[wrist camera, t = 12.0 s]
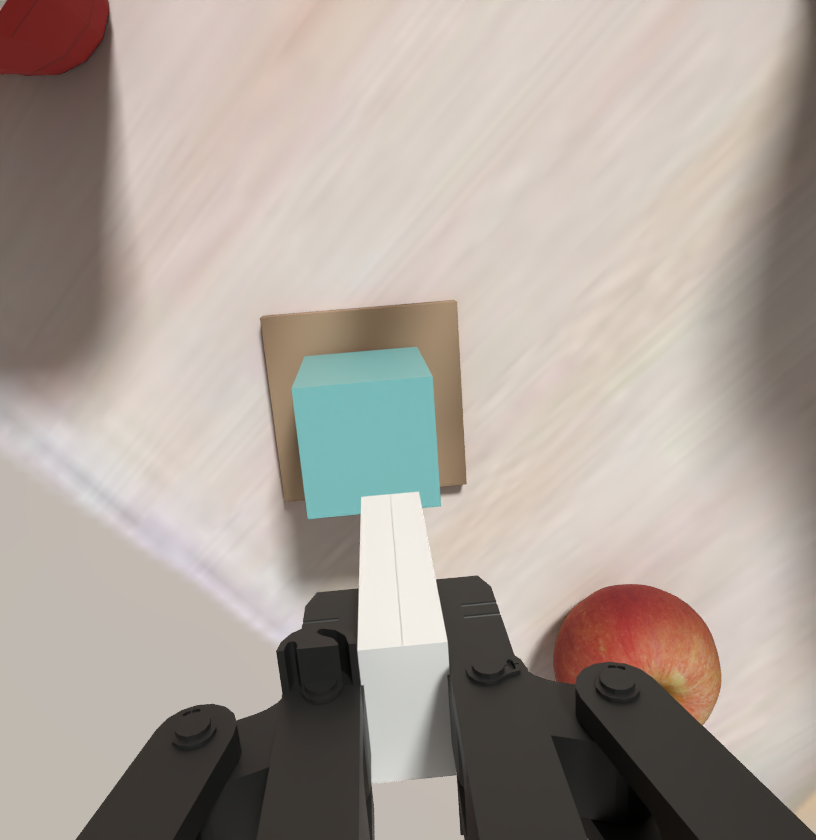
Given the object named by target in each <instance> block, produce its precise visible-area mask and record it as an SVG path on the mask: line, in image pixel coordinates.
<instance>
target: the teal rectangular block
mask: <svg viewBox="0 0 816 840" xmlns="http://www.w3.org/2000/svg"><path fill="white" fill-rule="evenodd" d="M292 397H293V405H294V413H295V421H296V429H297V437H298V445H299V453H300V461H301V469H302V478H303V486H304V494H305V502H306V510H307V518H308V519H315V518H325V517H335V516H346V515H356V514H361V497H365V496H376V495H387V494H398V493H409V492H419V495H420V500H421V505H422V508H427V507H437V506H441V498H440V483H439V467H438V452H437V436H436V421H435V405H434V389H433V376H432V374H431V372H430V370H429V368H428V366H427V365H426V363H425V361H424V359H423V357H422V355H421V353H420V351H419V349H418V348H417V347H406V348H395V349H383V350H371V351H360V352H348V353H336V354H324V355H313V356H304V359H303V361H302V364H301V366H300V369H299V371H298V374H297V376H296V379H295V381H294V384H293V386H292Z"/></svg>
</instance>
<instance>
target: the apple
mask: <svg viewBox="0 0 816 840" xmlns="http://www.w3.org/2000/svg"><path fill="white" fill-rule="evenodd" d="M603 662H617V663H625V664H628V665H631V666H634V667H636V668H639V669H641V670H643V671H644V672H646V673H647V674H648V675H650V676H651V677H653V678H654V679H655V680H656V681H657V682H658V683H659V684H660V685H661V686H662V687H663V688H664V689H665V690H666V691H667V692H668V693H669V694H670V695H671V696H672V697H673V698H674V699H675V700H676V701H677V702H679V703H680V704H681V705H682V706H683V707H684V708H685V709H686V710H687V711H688V712H689V713H690V714H691V715H692V716H693V717H694V718H695V719H696V720H697V721H698V722H699V723H700V724H701V725H703V724H704V723H705V722H706V720H707V719H708V718H709V716H710V714H711V713H712V710H713V708H714V706H715V704H716V701H717V699H718V696H719V693H720V688H721V669H720V662H719V657H718V653H717V649H716V646H715V643H714V640H713V637H712V634H711V633H710V631H709V629H708V627H707V625H706V623H705V622H704V621H703V619H702V618H701V617H700V616H699V615H698V614H697V613H696V612H695V611H694V609H692V608H691V607H690V606H689V605H688V604H687V603H685V602H684V601H682V600H681V599H679V598H678V597H676V596H674V595H672V594H670V593H668V592H665V591H663V590H660V589H657V588H654V587H651V586H646V585H637V584H626V585H615V586H609V587H605V588H603V589H600V590H598V591H596V592H594V593H593V594H591V595H590V596H588V597H587V598H586V599H584V600H583V601H581V602H580V603H579V604H577V605H576V606H575V607H574V608H573V609H572V610H571V611H570V612H569V614H568V615H567V617H566V618H565V620H564V622H563V624H562V626H561V628H560V631H559V633H558V636H557V639H556V643H555V648H554V672H555V677H556V681H557V682H562V683H570V684H576V677H577V676H578V675H579V673H580V672H581V671H582V670H583V669H584V668H586V667H589V666H591V665H593V664H595V663H603Z"/></svg>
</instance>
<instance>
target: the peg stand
mask: <svg viewBox="0 0 816 840" xmlns="http://www.w3.org/2000/svg"><path fill="white" fill-rule="evenodd" d="M260 321H261V329H262V336H263V344H264V351H265V359H266V366H267V374H268V381H269V389H270V396H271V403H272V411H273V418H274V426H275V433H276V441H277V448H278V456H279V463H280V471H281V478H282V486H283V493H284V500H285V502H288V501H298V500H305V494H304V486H303V478H302V469H301V461H300V453H299V445H298V437H297V429H296V421H295V413H294V405H293V397H292V386H293V384H294V381H295V379H296V376H297V374H298V371H299V369H300V366H301V364H302V361H303V359H304V356H313V355H324V354H336V353H348V352H360V351H371V350H383V349H395V348H406V347H417V348H418V349H419V351H420V353H421V355H422V357H423V359H424V361H425V363H426V365H427V366H428V368H429V370H430V372H431V374H432V376H433V389H434V405H435V421H436V436H437V452H438V467H439V483H440V487H442V486H453V485H463V484H466V465H465V446H464V427H463V409H462V390H461V371H460V352H459V334H458V315H457V302H456V301H455V300H449V301H437V302H425V303H413V304H401V305H389V306H377V307H365V308H353V309H341V310H329V311H316V312H304V313H292V314H280V315H268V316H262V317H261V318H260Z"/></svg>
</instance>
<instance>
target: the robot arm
mask: <svg viewBox="0 0 816 840" xmlns="http://www.w3.org/2000/svg"><path fill="white" fill-rule="evenodd" d="M276 653H277V659H278V666H279V673H280V680H281V686H282V693H283V694H282V699H281V700H280V701H279V702H278V703H277V704H275V705H273V706H272V707H270V708H268V709H267V710H264V711H262V712H260V713H257V714H255V715H252V716H249V717H246V718H243V719H240V720H237V721H236V719H235V715H234V713H233V712H231V711H230V710H229V709H228V708H226V707H224V706H220V705H215V704H206V705H197V706H193V707H190V708H187V709H184V710H181V711H180V712H178V713H176V714H175V715H173V716H171V717H169V718H168V719H167V720H166V721H165V722H164V723H163V724H162V725H161V726H160V727H159V728H158V729H157V730H156V731H155V732H154V734H153V735H152V737H151V738H150V739H149V740H148V742H147V743H146V744H145V746H144V747H143V749H142V750H141V751H140V753H139V754H138V755H137V757H136V758H135V759H134V761H133V762H132V764H131V765H130V766H129V768H128V769H127V770H126V772H125V773H124V775H123V776H122V777H121V779H120V780H119V781H118V783H117V784H116V785H115V787H114V788H113V790H112V791H111V792H110V794H109V795H108V796H107V798H106V799H105V801H104V802H103V803H102V805H101V806H100V807H99V809H98V810H97V811H96V813H95V814H94V815H93V817H92V818H91V819H90V821H89V822H88V824H87V825H86V827H85V828H84V829H83V830H82V832H81V833H80V835H79V836H78V837H77V839H76V840H374V804H373V795H372V786H371V779H372V784H376V783H386V782H395V781H404V780H414V779H423V778H433V777H443V776H452V775H456V773H457V784H458V801H459V816H460V831H461V835H464V839H465V840H816V835H815V834H814V833H813V832H812V831H811V830H810V829H809V828H808V827H807V826H806V825H805V824H804V823H803V822H802V821H801V820H800V819H799V818H798V817H797V816H796V815H795V814H794V813H793V812H792V811H791V810H789V809H788V808H787V807H786V806H785V805H784V804H783V803H782V802H781V801H780V800H779V799H778V798H777V797H776V796H775V795H774V794H773V793H772V792H771V791H770V790H769V789H768V788H767V787H766V786H765V785H764V784H763V783H761V782H760V781H759V780H758V779H757V778H756V777H755V776H754V775H753V774H752V773H751V772H750V771H749V770H748V769H747V768H746V767H745V766H744V765H743V764H742V763H741V762H740V761H739V760H738V759H737V758H736V757H735V756H733V755H732V754H731V753H730V752H729V751H728V750H727V749H726V748H725V747H724V746H723V745H722V744H721V743H720V742H719V741H718V740H717V739H716V738H715V737H714V736H713V735H712V734H711V733H710V732H709V731H708V730H707V729H705V728H704V727H703V726H702V725H701V724H700V723H699V722H698V721H697V720H696V719H695V718H694V717H693V716H692V715H691V714H690V713H689V712H688V711H687V710H686V709H685V708H684V707H683V706H682V705H681V704H680V703H679V702H677V701H676V700H675V699H674V698H673V697H672V696H671V695H670V694H669V693H668V692H667V691H666V690H665V689H664V688H663V687H662V686H661V685H660V684H659V683H658V682H657V681H656V680H655V679H654V678H653V677H651V676H650V675H648V674H647V673H646V672H644V671H643V670H641V669H639V668H636V667H634V666H631V665H628V664H625V663H617V662H603V663H595V664H593V665H591V666H589V667H586V668H584V669H583V670H582V671H581V672H580V673H579V675H578V676H577V677H576V684H570V683H562V682H555V681H550V680H546V679H543V678H540V677H537V676H535V675H533V674H531V673H530V672H528V670H527V668H526V666H525V665H524V663H523V662H522V660H521V659H519V658H518V657H516V656H515V655H514V653H513V650H512V647H511V644H510V641H509V638H508V635H507V632H506V629H505V626H504V623H503V620H502V618H501V615H500V612H499V609H498V606H497V604H496V600H495V597H494V594H493V591H492V588H491V586H489V585H488V584H487V583H486V582H485V581H483V580H482V579H481V578H480V577H479V576H468V577H458V578H447V579H437V580H436V578H435V573H434V568H433V563H432V557H431V552H430V547H429V542H428V536H427V531H426V526H425V521H424V515H423V510H422V505H421V500H420V495H419V492H409V493H398V494H387V495H376V496H365V497H361V525H360V566H359V589H349V590H339V591H328V592H318V593H316V594H315V596H314V597H313V598H312V599H311V600H310V602H309V603H308V604H307V605H306V606H305V612H304V618H303V625H302V629H300V630H298V631H296V632H294V633H292V634H290V635H289V636H288V637H287V638H285V639H284V640H283V641H282V642H281V643H280V645H279V647H278V649H277V651H276ZM587 838H588V839H587Z"/></svg>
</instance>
